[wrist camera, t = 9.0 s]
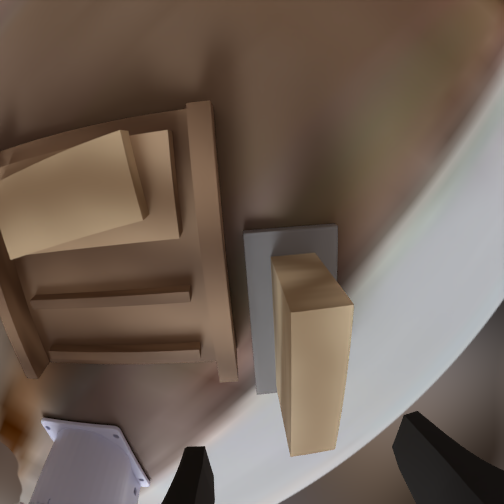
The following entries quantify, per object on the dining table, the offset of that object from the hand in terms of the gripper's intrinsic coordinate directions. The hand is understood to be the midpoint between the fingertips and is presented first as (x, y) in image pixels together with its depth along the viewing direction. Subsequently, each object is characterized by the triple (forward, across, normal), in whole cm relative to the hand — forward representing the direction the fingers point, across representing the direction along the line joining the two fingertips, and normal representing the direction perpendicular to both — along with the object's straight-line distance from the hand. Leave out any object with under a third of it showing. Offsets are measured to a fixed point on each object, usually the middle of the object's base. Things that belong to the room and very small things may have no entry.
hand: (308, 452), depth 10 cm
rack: (+10, +9, -5) cm, 15 cm away
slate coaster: (+10, -1, 0) cm, 10 cm away
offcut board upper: (+8, +10, -9) cm, 15 cm away
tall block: (+9, -1, 0) cm, 9 cm away
